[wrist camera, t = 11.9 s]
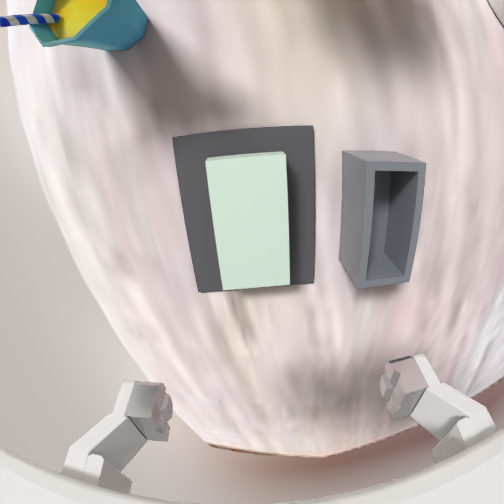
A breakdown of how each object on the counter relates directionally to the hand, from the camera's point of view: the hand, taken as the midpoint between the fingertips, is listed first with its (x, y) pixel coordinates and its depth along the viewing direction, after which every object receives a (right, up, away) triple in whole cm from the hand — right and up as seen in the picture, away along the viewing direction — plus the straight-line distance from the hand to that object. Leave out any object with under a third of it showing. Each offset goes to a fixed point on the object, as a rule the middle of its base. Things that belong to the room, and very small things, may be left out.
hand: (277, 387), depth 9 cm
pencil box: (+11, +10, +19) cm, 24 cm away
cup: (-14, +26, +10) cm, 32 cm away
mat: (-1, +8, +20) cm, 21 cm away
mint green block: (-1, +8, +19) cm, 21 cm away
